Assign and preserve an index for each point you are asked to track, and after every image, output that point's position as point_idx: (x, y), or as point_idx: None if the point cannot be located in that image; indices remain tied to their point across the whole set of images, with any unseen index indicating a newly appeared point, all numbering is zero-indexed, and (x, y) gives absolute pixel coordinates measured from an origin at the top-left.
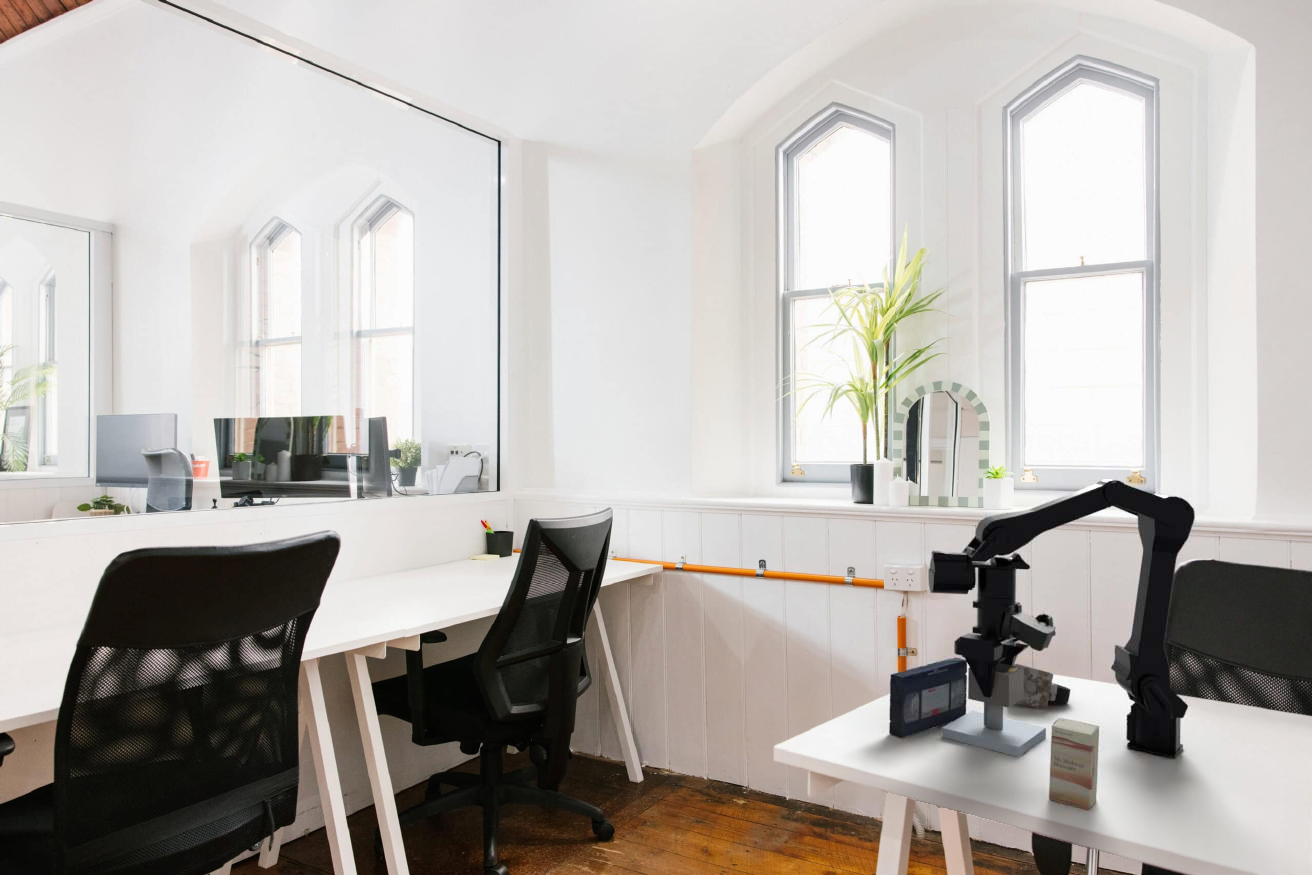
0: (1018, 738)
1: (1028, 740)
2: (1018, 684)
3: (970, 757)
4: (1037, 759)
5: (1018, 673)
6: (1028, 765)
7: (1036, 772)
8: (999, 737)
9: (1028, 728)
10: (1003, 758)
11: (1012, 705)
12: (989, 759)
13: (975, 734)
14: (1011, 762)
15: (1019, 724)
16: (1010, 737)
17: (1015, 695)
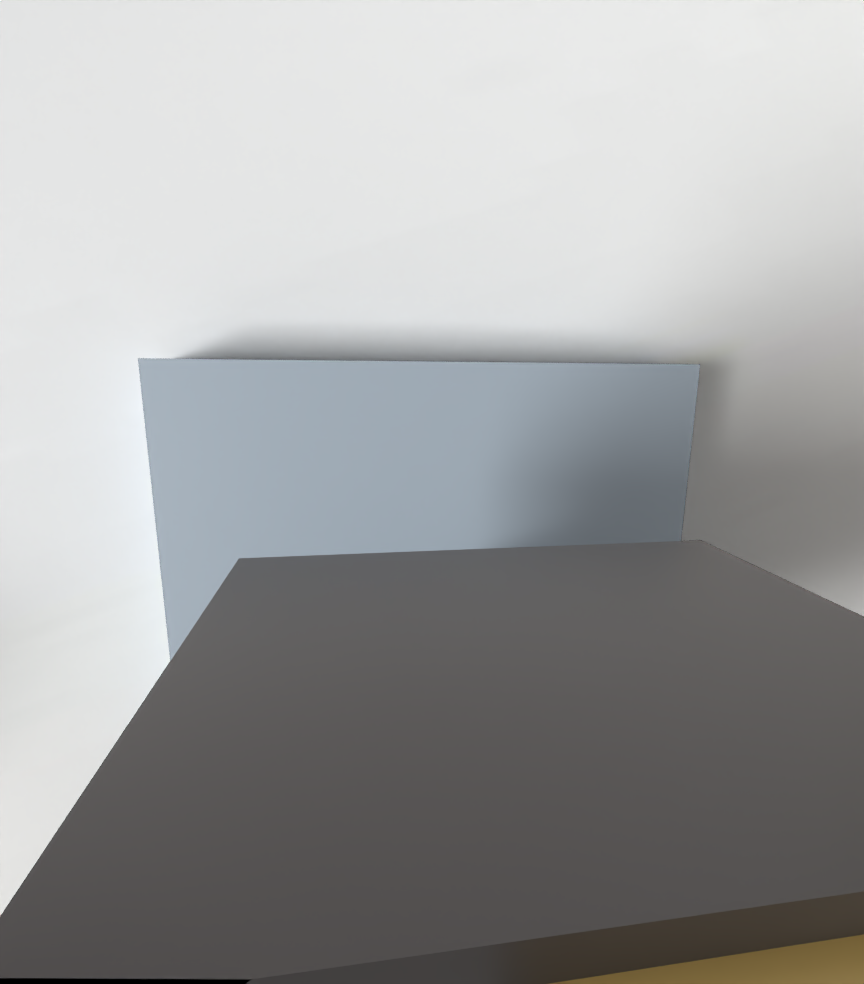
0: (538, 426)
1: (526, 362)
2: (456, 656)
3: (816, 551)
4: (630, 266)
5: (521, 837)
6: (755, 277)
7: (833, 205)
8: (603, 522)
9: (271, 451)
10: (733, 423)
11: (593, 544)
12: (790, 472)
13: None
14: (765, 368)
15: (230, 533)
16: (554, 473)
17: (539, 583)
